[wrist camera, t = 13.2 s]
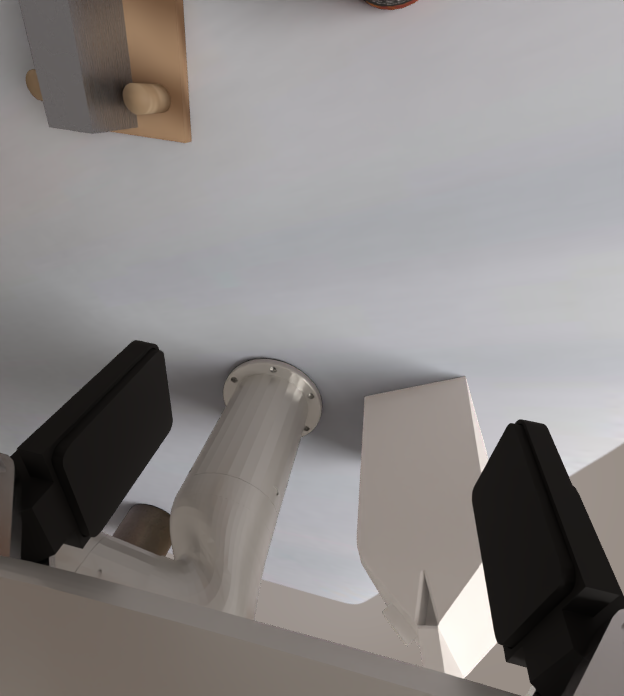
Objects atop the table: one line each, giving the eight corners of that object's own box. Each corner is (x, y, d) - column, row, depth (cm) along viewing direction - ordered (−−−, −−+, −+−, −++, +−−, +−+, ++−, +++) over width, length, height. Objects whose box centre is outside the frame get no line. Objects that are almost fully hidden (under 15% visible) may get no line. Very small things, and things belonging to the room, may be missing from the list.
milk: (486, 452, 47) (555, 746, 26) (394, 464, 52) (389, 726, 30) (465, 376, 42) (530, 667, 21) (364, 396, 46) (332, 655, 25)
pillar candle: (178, 513, 69) (128, 604, 56) (179, 541, 74) (134, 630, 62) (127, 497, 69) (66, 584, 57) (132, 527, 75) (77, 612, 63)
